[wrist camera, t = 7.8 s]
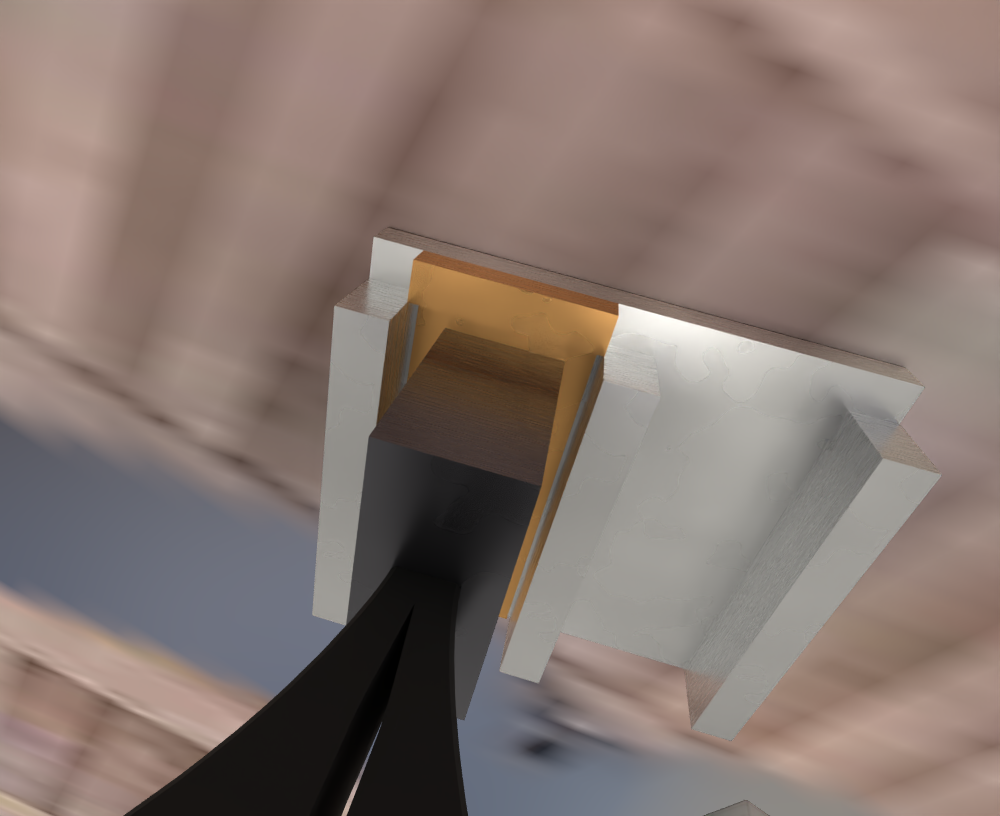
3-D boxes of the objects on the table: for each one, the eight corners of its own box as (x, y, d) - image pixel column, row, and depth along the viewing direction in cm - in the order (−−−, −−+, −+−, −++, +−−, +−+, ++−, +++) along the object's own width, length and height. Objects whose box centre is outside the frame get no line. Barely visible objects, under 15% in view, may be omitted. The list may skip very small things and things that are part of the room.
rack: (905, 367, 14) (974, 434, 11) (715, 652, 19) (731, 741, 17) (388, 227, 14) (337, 259, 11) (351, 545, 20) (312, 615, 17)
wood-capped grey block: (565, 361, 14) (541, 486, 9) (501, 563, 17) (463, 720, 13) (445, 327, 14) (368, 436, 10) (407, 535, 17) (339, 681, 13)
